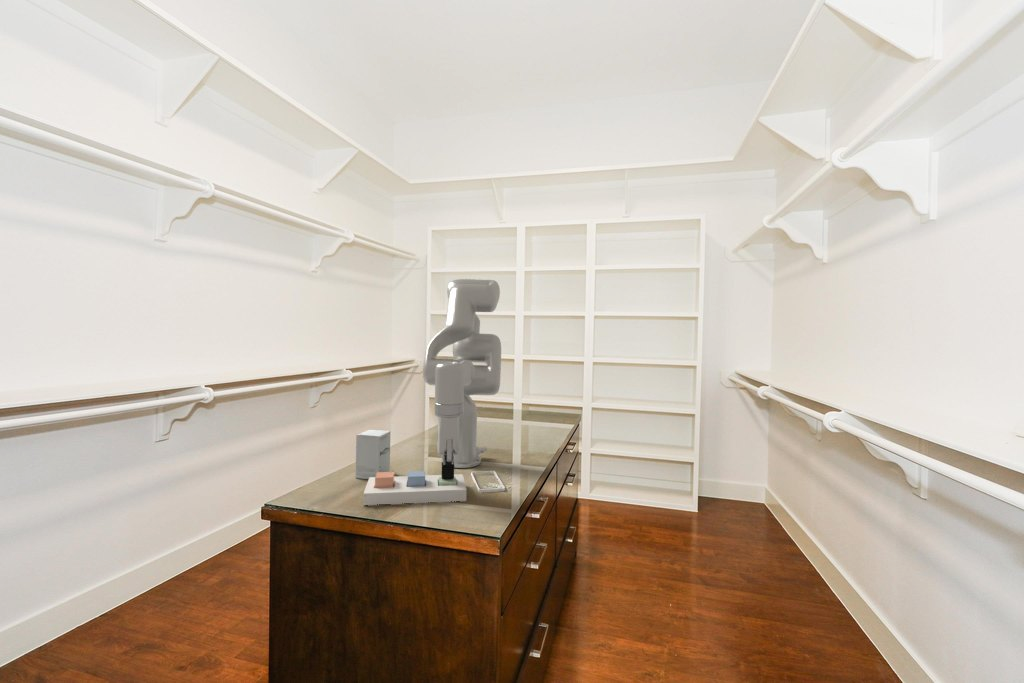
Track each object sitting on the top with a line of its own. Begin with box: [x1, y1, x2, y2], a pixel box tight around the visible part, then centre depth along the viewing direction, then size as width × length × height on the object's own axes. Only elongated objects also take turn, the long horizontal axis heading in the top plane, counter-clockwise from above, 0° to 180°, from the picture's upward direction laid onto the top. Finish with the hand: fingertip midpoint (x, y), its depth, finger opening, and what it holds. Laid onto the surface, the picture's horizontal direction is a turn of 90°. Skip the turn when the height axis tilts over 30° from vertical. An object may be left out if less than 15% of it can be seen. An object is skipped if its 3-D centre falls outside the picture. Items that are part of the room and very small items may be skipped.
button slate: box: [407, 470, 426, 487], centre depth 121 cm, size 4×4×3 cm
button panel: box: [362, 473, 467, 506], centre depth 121 cm, size 25×12×3 cm, turn 101°
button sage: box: [439, 476, 456, 486], centre depth 123 cm, size 4×4×3 cm
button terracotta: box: [375, 471, 395, 488], centre depth 120 cm, size 4×4×3 cm
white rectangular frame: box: [470, 470, 506, 494], centre depth 132 cm, size 7×1×15 cm
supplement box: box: [355, 429, 391, 480], centre depth 135 cm, size 7×7×13 cm
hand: (447, 477), depth 123 cm, fingers closed
